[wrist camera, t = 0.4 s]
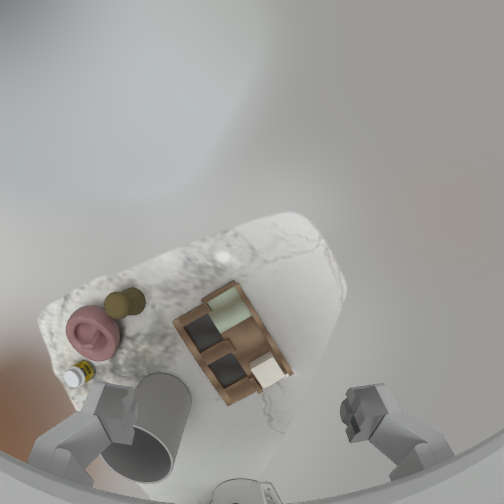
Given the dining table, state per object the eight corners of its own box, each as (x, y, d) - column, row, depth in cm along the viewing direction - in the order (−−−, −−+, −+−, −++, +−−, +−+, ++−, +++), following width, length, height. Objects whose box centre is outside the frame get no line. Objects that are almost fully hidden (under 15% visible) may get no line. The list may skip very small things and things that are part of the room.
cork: (129, 319, 59) (110, 328, 48) (115, 295, 59) (94, 299, 48) (150, 306, 59) (134, 313, 49) (136, 282, 60) (118, 283, 49)
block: (281, 369, 58) (285, 376, 54) (261, 381, 58) (263, 388, 54) (269, 350, 59) (272, 356, 54) (249, 362, 58) (250, 369, 54)
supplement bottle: (99, 368, 57) (83, 379, 49) (91, 381, 57) (75, 393, 48) (84, 355, 57) (67, 364, 49) (76, 369, 57) (59, 379, 48)
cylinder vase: (202, 405, 59) (190, 469, 34) (161, 427, 57) (133, 491, 32) (168, 362, 59) (135, 410, 34) (128, 387, 58) (82, 437, 33)
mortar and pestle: (85, 354, 57) (62, 366, 46) (79, 303, 58) (53, 308, 47) (130, 355, 58) (112, 370, 47) (124, 302, 59) (103, 308, 48)
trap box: (290, 367, 61) (294, 373, 57) (227, 402, 59) (227, 410, 55) (235, 278, 61) (236, 279, 57) (171, 316, 60) (167, 319, 56)
